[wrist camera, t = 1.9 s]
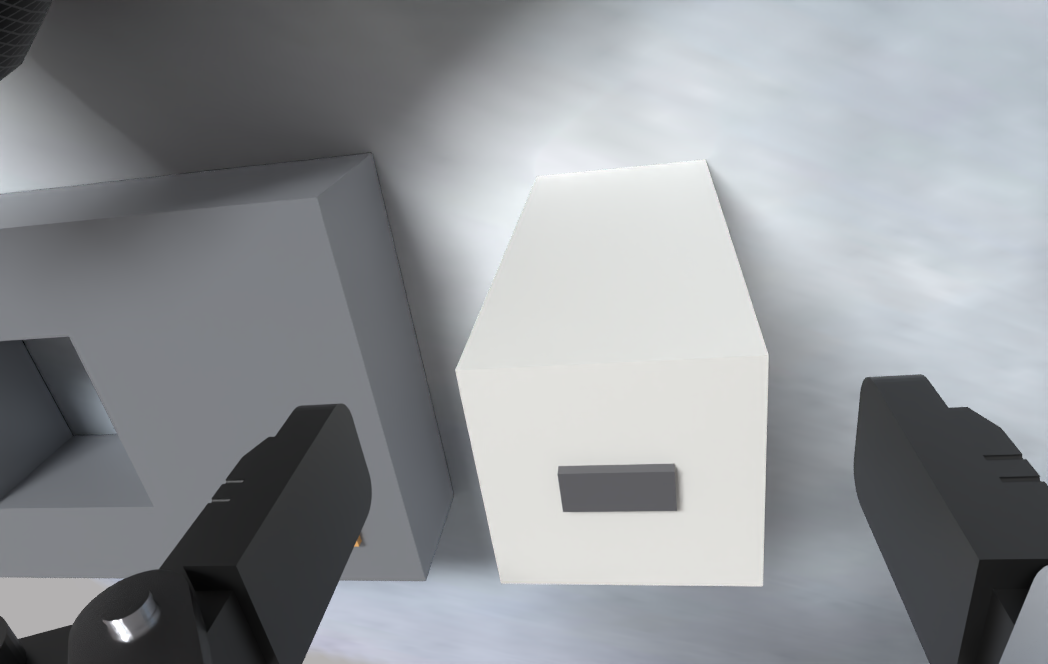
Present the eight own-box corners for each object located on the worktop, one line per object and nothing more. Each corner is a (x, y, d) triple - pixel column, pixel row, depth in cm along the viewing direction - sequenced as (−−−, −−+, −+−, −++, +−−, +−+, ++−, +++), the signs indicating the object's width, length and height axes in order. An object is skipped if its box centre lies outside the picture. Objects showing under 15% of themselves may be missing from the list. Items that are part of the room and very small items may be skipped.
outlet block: (371, 152, 17) (312, 200, 14) (454, 495, 23) (423, 586, 19) (-148, 210, 20) (-294, 260, 17) (27, 501, 26) (-60, 581, 22)
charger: (705, 159, 16) (771, 362, 9) (708, 311, 18) (765, 595, 10) (536, 176, 17) (452, 376, 9) (556, 321, 19) (499, 592, 11)
